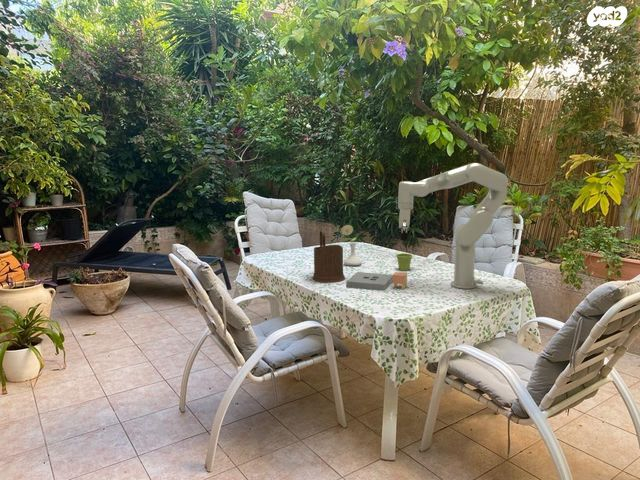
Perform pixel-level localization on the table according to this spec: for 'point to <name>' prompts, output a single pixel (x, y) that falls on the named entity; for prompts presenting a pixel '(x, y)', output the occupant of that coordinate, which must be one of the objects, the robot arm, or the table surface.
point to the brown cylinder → (328, 262)
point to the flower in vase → (352, 258)
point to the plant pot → (404, 261)
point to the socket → (370, 281)
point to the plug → (400, 279)
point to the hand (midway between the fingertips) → (404, 238)
